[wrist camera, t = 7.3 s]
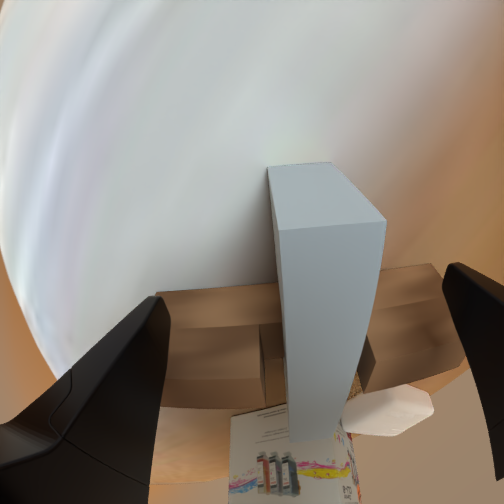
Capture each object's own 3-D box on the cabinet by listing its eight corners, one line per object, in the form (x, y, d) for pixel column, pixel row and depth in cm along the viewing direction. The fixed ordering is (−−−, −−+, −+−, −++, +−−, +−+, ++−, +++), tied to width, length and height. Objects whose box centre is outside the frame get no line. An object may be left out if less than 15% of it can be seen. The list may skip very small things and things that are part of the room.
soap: (333, 404, 20) (339, 434, 18) (385, 372, 18) (396, 404, 15) (386, 415, 23) (392, 439, 21) (428, 389, 21) (437, 413, 18)
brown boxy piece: (430, 263, 12) (479, 332, 8) (420, 298, 14) (458, 366, 9) (156, 291, 13) (125, 376, 9) (170, 325, 14) (149, 405, 10)
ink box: (350, 420, 22) (367, 525, 12) (272, 440, 25) (275, 538, 14) (326, 389, 18) (346, 537, 8) (227, 414, 21) (222, 542, 10)
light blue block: (331, 162, 10) (387, 220, 6) (320, 369, 17) (332, 437, 12) (267, 167, 10) (278, 230, 6) (284, 373, 17) (289, 443, 13)
